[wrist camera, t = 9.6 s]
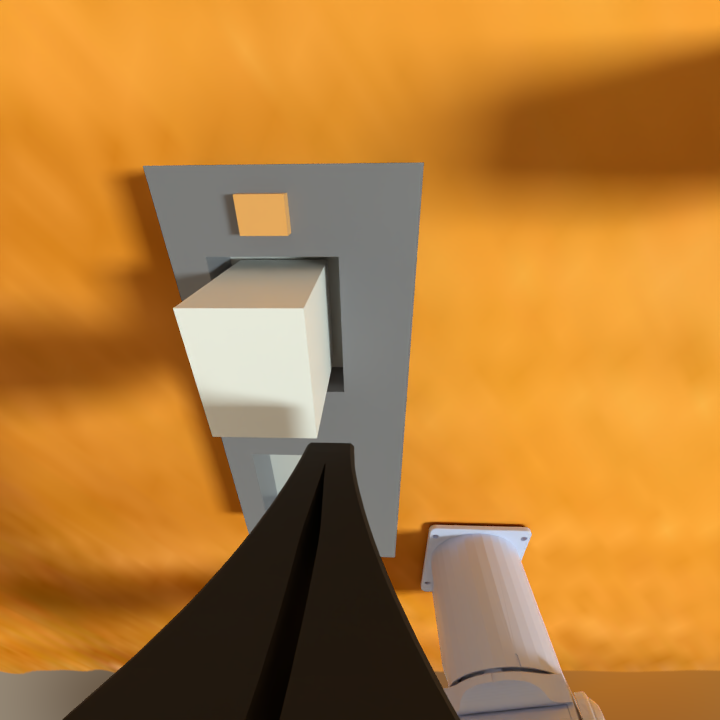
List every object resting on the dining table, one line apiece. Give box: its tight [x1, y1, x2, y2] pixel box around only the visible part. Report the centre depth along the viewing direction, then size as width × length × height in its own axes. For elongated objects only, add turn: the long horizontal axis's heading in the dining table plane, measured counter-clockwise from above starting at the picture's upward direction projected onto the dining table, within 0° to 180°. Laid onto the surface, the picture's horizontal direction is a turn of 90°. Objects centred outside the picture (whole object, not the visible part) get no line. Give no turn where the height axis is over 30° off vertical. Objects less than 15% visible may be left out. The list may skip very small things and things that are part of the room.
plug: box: [173, 260, 333, 438], centre depth 14 cm, size 5×4×7 cm
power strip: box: [143, 163, 424, 557], centre depth 19 cm, size 24×10×4 cm, turn 1°
